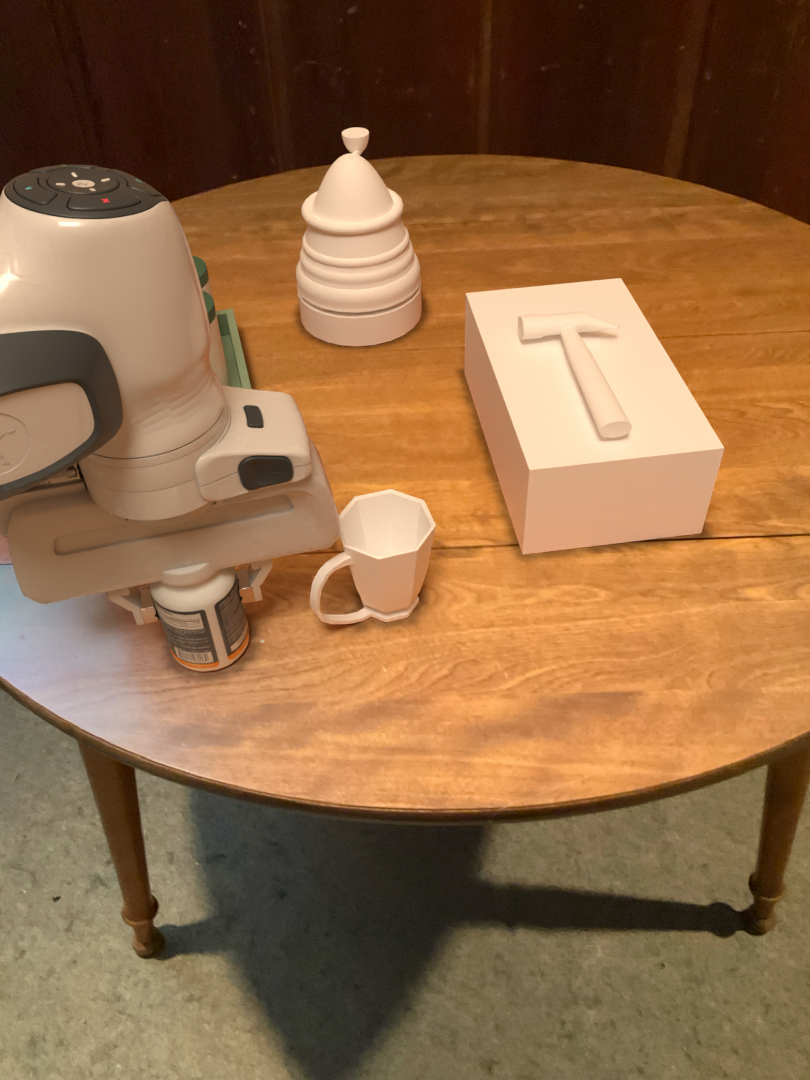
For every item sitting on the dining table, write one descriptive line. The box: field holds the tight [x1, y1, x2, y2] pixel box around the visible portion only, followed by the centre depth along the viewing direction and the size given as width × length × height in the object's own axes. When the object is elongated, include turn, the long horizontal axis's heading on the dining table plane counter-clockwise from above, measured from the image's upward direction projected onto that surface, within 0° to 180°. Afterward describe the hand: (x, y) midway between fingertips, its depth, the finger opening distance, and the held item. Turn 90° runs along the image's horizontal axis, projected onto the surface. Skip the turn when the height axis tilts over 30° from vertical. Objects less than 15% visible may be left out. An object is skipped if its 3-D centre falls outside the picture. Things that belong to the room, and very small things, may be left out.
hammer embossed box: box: [463, 277, 725, 555], centre depth 78 cm, size 14×25×11 cm, turn 8°
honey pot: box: [295, 126, 423, 347], centre depth 92 cm, size 13×13×18 cm
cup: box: [309, 488, 437, 625], centre depth 66 cm, size 7×10×8 cm
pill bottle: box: [149, 563, 250, 673], centre depth 63 cm, size 6×6×10 cm
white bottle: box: [202, 290, 230, 386], centre depth 84 cm, size 6×6×10 cm
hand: (201, 606), depth 64 cm, fingers closed on pill bottle, 6 cm apart
